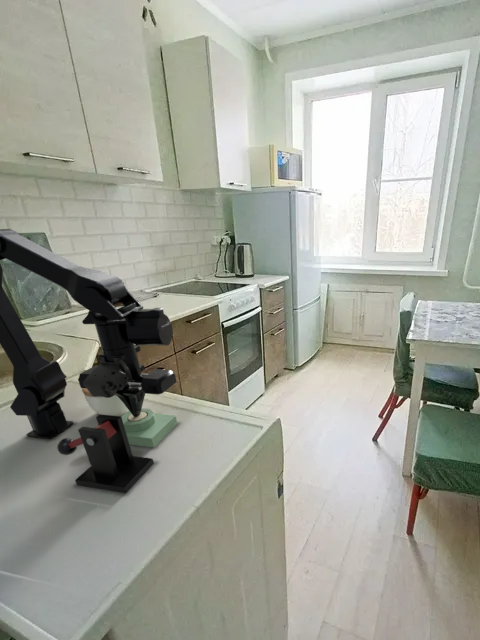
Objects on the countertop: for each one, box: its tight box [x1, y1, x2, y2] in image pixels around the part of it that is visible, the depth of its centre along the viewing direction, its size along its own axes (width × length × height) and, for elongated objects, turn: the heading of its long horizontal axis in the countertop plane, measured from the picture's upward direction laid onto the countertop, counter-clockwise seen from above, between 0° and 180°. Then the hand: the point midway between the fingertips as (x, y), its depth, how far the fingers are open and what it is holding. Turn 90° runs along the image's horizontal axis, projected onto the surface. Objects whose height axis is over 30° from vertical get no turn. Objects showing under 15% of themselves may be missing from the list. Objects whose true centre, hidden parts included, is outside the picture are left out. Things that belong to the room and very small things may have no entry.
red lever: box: [56, 421, 117, 456], centre depth 61 cm, size 13×3×3 cm, turn 75°
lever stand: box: [74, 414, 155, 494], centre depth 61 cm, size 10×8×11 cm
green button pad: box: [121, 408, 178, 448], centre depth 75 cm, size 12×9×4 cm
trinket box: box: [81, 388, 129, 416], centre depth 82 cm, size 11×11×9 cm
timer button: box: [128, 412, 147, 422], centre depth 74 cm, size 4×4×2 cm
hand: (137, 415), depth 74 cm, fingers closed, pressing on timer button
